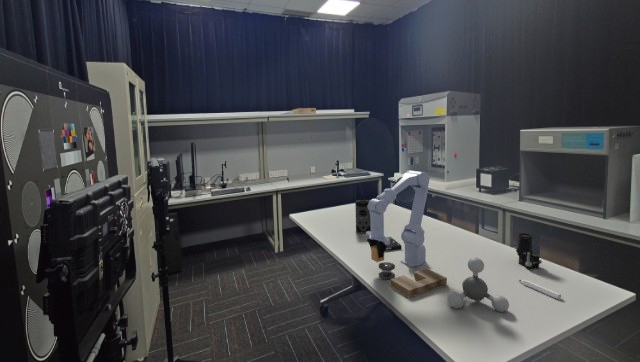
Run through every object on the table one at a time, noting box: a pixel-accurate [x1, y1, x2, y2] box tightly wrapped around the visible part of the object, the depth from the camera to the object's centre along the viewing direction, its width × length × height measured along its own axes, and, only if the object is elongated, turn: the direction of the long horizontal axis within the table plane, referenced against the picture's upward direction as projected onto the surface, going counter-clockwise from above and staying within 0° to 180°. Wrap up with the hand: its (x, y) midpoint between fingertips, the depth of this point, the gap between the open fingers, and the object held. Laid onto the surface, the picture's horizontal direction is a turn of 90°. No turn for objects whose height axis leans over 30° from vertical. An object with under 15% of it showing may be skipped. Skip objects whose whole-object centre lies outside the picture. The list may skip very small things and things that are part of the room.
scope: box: [515, 232, 543, 271], centre depth 149 cm, size 8×14×10 cm
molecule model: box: [447, 256, 510, 313], centre depth 119 cm, size 20×16×20 cm
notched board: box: [390, 268, 448, 299], centre depth 134 cm, size 20×11×3 cm, turn 117°
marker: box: [518, 279, 562, 300], centre depth 127 cm, size 3×2×16 cm
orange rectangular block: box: [370, 245, 385, 263], centre depth 145 cm, size 4×4×6 cm
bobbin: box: [378, 261, 396, 281], centre depth 143 cm, size 7×7×5 cm
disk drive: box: [385, 236, 403, 252], centre depth 181 cm, size 10×3×15 cm
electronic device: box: [355, 199, 371, 234], centre depth 204 cm, size 9×6×20 cm, turn 80°
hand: (377, 255), depth 146 cm, fingers closed on orange rectangular block, 4 cm apart
